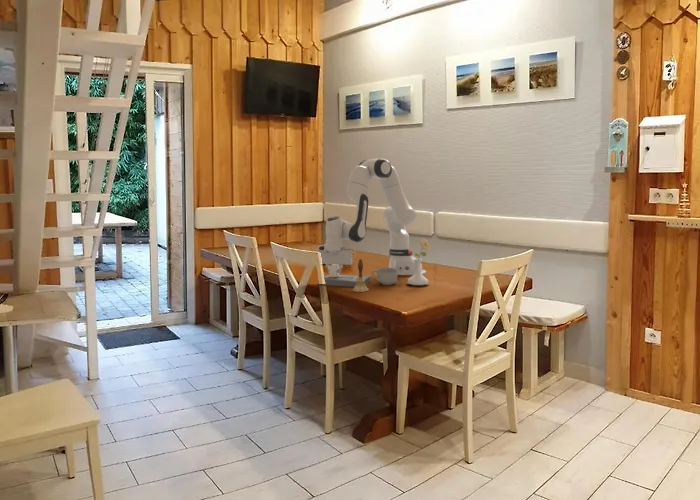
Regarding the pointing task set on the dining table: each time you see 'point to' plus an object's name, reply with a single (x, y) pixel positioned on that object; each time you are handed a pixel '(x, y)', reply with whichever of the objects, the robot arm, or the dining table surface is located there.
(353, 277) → the console
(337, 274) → the fader
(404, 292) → the dining table surface
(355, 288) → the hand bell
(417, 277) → the flower in vase
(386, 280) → the teacup
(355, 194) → the robot arm
